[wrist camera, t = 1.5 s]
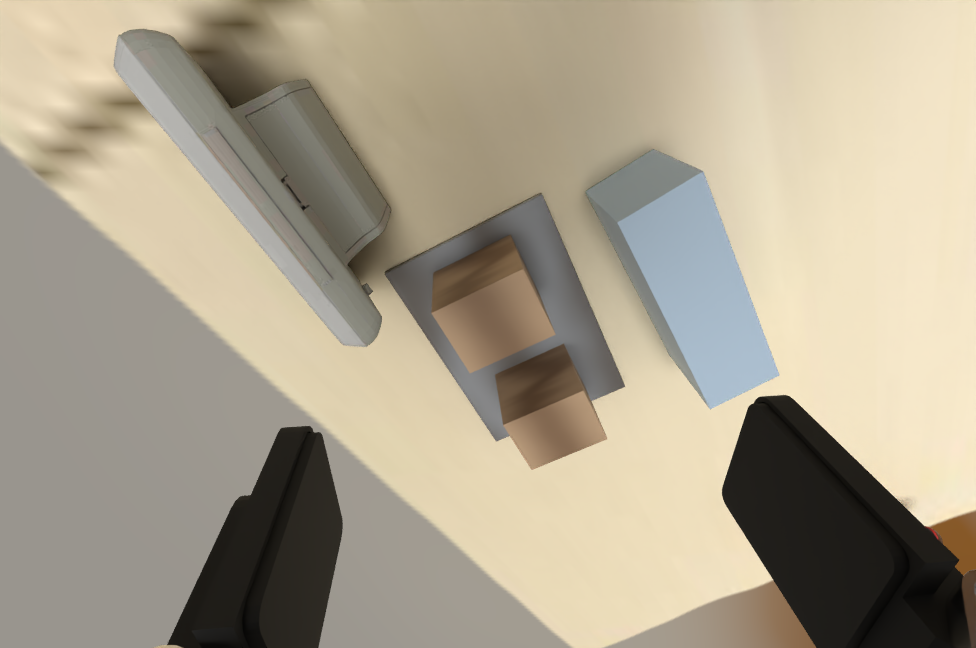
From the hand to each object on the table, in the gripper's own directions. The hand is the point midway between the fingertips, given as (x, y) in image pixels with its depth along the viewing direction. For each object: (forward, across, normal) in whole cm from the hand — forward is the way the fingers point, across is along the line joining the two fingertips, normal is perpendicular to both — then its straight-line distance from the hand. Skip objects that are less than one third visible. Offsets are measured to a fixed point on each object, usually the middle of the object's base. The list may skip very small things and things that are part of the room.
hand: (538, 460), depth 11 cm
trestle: (+24, -3, +11) cm, 26 cm away
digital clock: (+24, +11, -1) cm, 27 cm away
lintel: (+24, -14, +6) cm, 28 cm away
